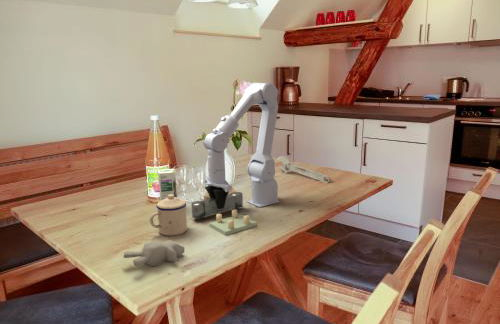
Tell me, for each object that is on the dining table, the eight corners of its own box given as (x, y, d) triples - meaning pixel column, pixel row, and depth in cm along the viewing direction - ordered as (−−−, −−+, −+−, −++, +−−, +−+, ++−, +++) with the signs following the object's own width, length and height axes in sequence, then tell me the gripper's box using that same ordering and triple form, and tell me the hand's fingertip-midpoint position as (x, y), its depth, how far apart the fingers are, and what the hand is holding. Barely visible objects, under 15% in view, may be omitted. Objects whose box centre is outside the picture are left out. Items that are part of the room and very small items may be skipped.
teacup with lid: (178, 222, 132) (176, 188, 129) (193, 230, 125) (191, 195, 122) (144, 232, 124) (141, 196, 122) (158, 241, 118) (155, 204, 115)
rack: (240, 217, 135) (239, 207, 134) (256, 225, 128) (256, 215, 127) (209, 226, 128) (209, 215, 127) (225, 235, 121) (224, 224, 120)
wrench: (327, 189, 174) (275, 170, 193) (329, 188, 175) (277, 170, 195) (329, 172, 172) (276, 154, 191) (332, 171, 173) (279, 154, 192)
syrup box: (161, 212, 141) (158, 173, 138) (160, 207, 147) (157, 169, 143) (177, 210, 143) (175, 171, 139) (176, 205, 148) (173, 167, 145)
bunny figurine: (190, 244, 106) (137, 256, 96) (189, 263, 107) (137, 276, 97) (171, 234, 113) (121, 244, 103) (171, 251, 114) (120, 263, 104)
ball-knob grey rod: (238, 203, 146) (237, 191, 145) (245, 206, 142) (244, 194, 141) (189, 215, 134) (189, 202, 133) (196, 219, 131) (195, 206, 130)
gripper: (195, 166, 138) (197, 204, 141) (217, 175, 127) (219, 215, 130) (213, 163, 142) (214, 199, 145) (236, 171, 131) (237, 210, 134)
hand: (218, 206), depth 138 cm, fingers closed on ball-knob grey rod, 3 cm apart
